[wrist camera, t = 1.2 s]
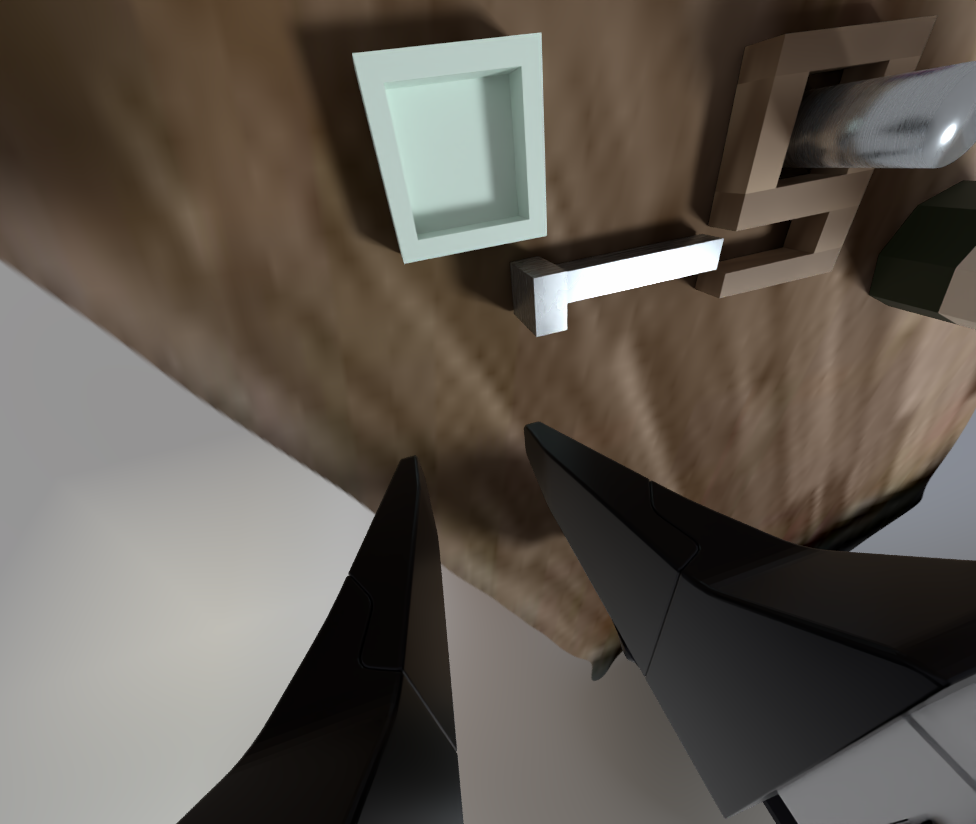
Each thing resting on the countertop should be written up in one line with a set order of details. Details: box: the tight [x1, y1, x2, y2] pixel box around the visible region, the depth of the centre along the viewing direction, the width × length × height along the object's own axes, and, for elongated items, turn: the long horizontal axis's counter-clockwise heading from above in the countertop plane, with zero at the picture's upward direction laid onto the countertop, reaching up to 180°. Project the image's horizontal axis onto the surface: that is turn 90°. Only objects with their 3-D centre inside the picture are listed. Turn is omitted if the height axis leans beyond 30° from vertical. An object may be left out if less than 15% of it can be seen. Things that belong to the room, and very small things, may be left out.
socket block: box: [695, 15, 938, 298], centre depth 20 cm, size 11×8×2 cm
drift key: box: [510, 234, 724, 337], centre depth 19 cm, size 3×12×3 cm, turn 97°
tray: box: [352, 33, 547, 264], centre depth 15 cm, size 7×7×2 cm
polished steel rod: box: [782, 61, 976, 168], centre depth 16 cm, size 3×3×7 cm
